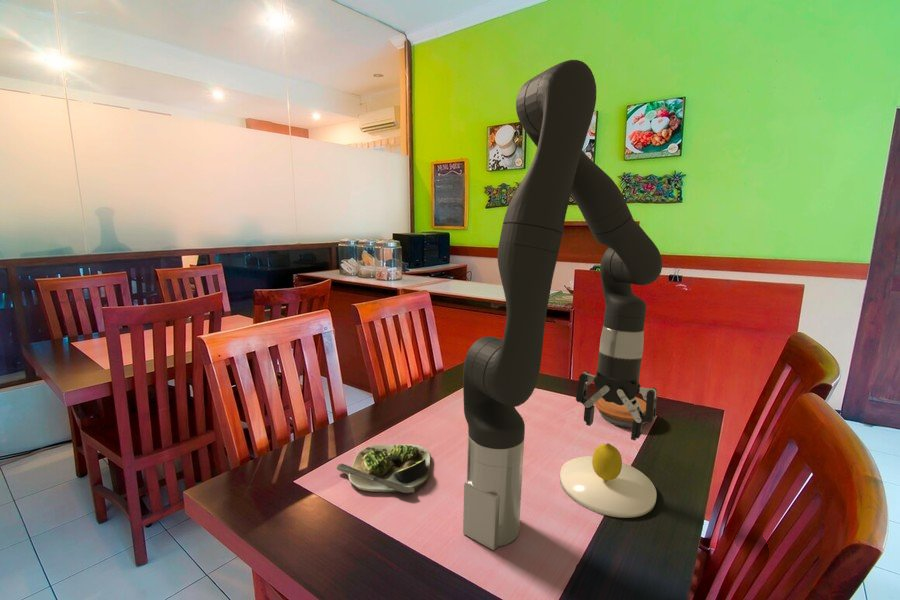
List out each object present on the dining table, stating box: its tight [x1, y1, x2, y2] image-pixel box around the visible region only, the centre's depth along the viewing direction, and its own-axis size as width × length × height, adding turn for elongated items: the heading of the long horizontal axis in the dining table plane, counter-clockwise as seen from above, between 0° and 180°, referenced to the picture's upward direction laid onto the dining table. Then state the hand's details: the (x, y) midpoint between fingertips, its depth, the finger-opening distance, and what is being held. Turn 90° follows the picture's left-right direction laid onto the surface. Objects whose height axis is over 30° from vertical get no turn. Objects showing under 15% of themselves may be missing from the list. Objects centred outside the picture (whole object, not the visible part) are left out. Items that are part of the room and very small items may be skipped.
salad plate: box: [336, 443, 432, 494], centre depth 87 cm, size 19×18×5 cm
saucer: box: [559, 455, 657, 519], centre depth 83 cm, size 18×18×1 cm
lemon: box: [592, 443, 623, 481], centre depth 83 cm, size 6×6×8 cm
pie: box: [593, 396, 647, 428], centre depth 113 cm, size 15×16×5 cm
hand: (611, 431), depth 81 cm, fingers open, 8 cm apart
